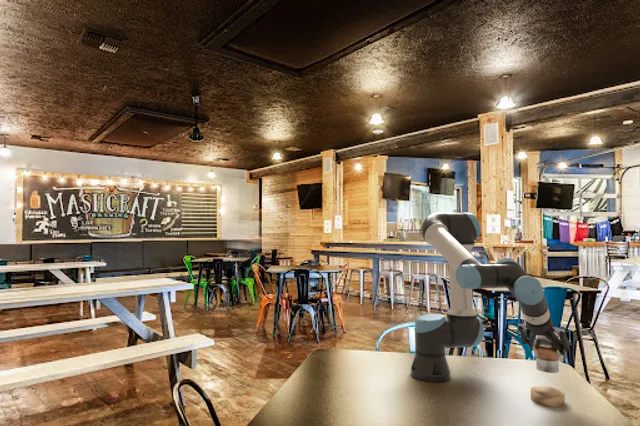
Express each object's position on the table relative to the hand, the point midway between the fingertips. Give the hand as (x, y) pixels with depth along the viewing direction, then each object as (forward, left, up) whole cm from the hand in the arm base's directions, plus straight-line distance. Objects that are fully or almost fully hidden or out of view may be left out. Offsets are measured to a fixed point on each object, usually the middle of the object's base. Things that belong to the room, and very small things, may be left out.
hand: (549, 356), depth 142 cm
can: (0, -4, -3) cm, 5 cm away
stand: (0, -3, -14) cm, 14 cm away
